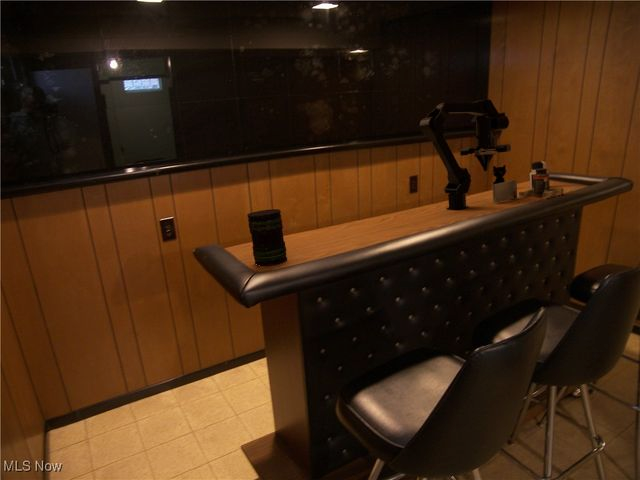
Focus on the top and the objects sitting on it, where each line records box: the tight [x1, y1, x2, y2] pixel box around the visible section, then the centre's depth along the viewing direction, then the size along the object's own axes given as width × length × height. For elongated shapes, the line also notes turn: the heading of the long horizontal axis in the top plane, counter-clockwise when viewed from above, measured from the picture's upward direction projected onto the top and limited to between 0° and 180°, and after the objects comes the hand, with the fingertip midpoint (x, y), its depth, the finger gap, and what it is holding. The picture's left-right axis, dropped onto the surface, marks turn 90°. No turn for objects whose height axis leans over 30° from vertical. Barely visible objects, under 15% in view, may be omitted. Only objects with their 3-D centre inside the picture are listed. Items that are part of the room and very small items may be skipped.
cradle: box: [518, 187, 564, 200], centre depth 187 cm, size 12×12×2 cm
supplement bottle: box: [533, 167, 551, 198], centre depth 187 cm, size 6×6×11 cm
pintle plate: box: [508, 197, 522, 201], centre depth 189 cm, size 4×4×1 cm
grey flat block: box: [492, 179, 518, 204], centre depth 186 cm, size 13×2×7 cm, turn 121°
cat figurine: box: [490, 164, 507, 186], centre depth 218 cm, size 7×7×12 cm
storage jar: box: [246, 208, 288, 267], centre depth 133 cm, size 10×10×15 cm
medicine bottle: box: [529, 161, 550, 189], centre depth 209 cm, size 7×7×12 cm
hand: (485, 171), depth 186 cm, fingers closed
